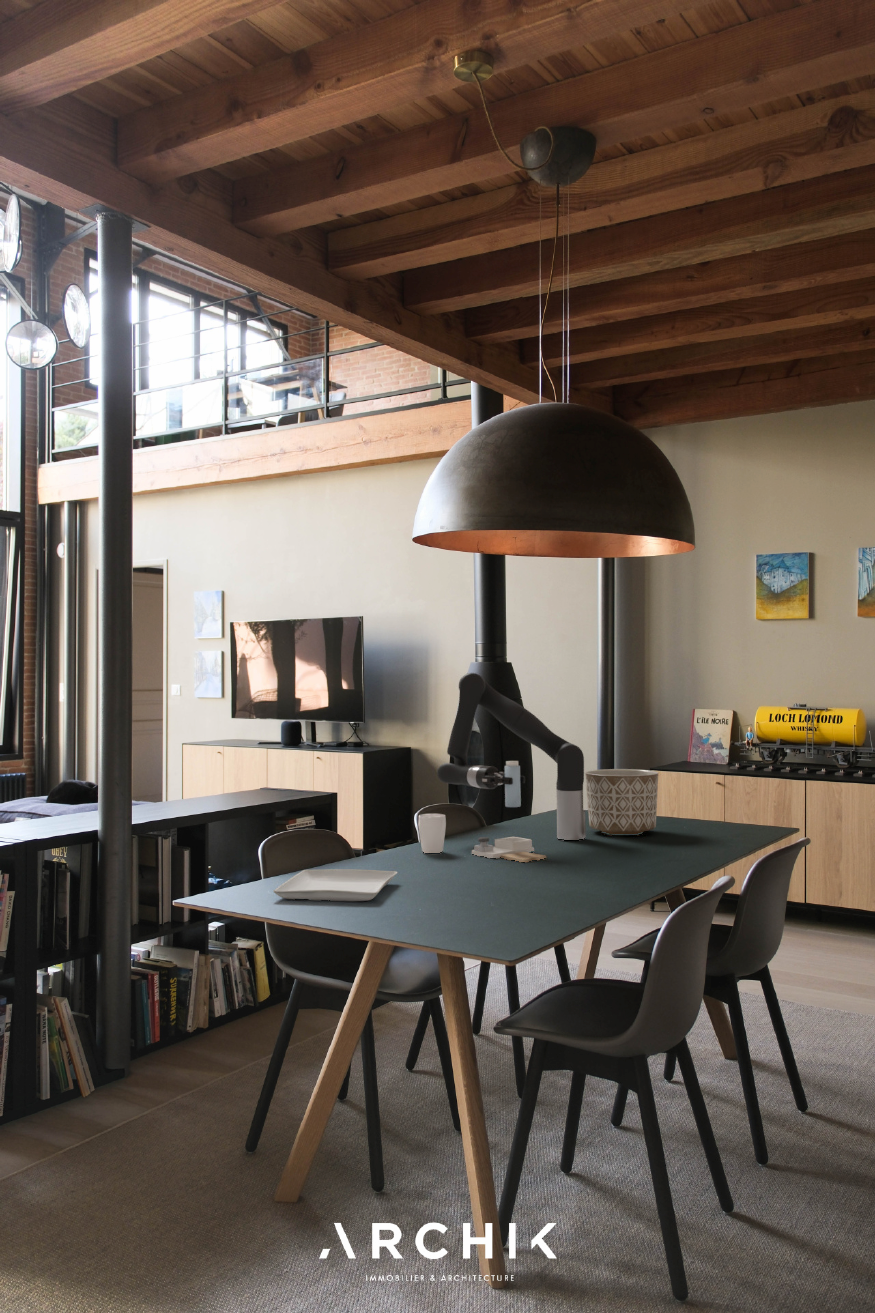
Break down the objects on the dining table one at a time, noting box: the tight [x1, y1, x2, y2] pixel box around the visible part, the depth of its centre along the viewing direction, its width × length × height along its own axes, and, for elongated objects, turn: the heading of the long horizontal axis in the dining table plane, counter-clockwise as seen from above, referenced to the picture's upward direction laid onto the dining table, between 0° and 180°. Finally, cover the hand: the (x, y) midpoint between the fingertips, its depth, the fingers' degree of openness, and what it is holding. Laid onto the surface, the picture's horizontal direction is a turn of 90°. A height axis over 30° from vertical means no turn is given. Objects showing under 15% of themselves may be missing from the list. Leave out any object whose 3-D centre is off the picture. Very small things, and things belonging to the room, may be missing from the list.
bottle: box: [504, 760, 522, 808], centre depth 321 cm, size 5×5×14 cm
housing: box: [471, 836, 535, 859], centre depth 317 cm, size 18×10×4 cm, turn 129°
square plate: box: [273, 868, 398, 902], centre depth 262 cm, size 27×27×4 cm
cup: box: [417, 813, 447, 854], centre depth 321 cm, size 9×9×12 cm
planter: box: [584, 768, 659, 834], centre depth 357 cm, size 26×26×22 cm
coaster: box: [500, 852, 547, 863], centre depth 308 cm, size 10×10×1 cm
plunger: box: [477, 836, 490, 847], centre depth 315 cm, size 3×3×4 cm
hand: (518, 780), depth 319 cm, fingers closed on bottle, 5 cm apart
